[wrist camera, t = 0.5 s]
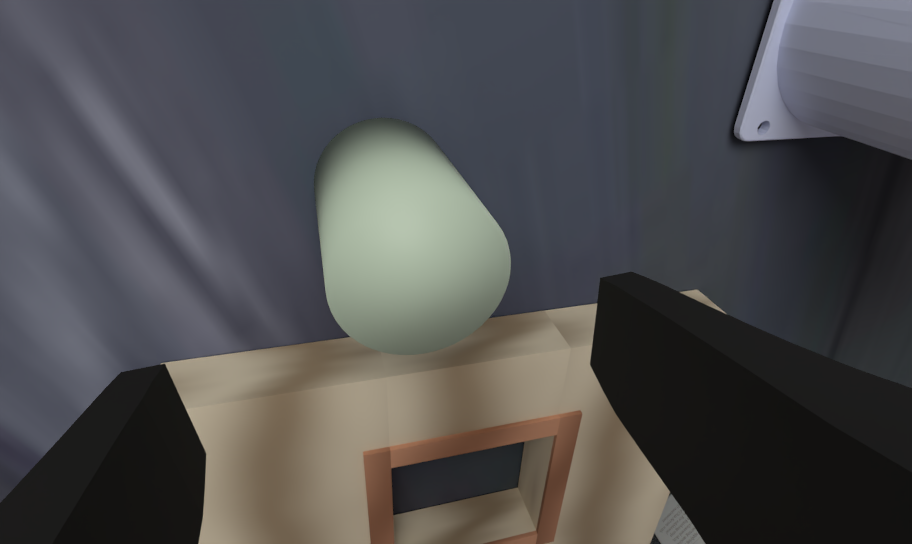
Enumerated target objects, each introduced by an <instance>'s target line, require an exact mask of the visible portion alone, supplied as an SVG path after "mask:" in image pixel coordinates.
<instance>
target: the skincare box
mask: <svg viewBox="0 0 912 544" xmlns="http://www.w3.org/2000/svg"><path fill="white" fill-rule="evenodd" d="M654 534H655V535H656V537H657V538H658V540H659V541H660V543H661V544H705V542H704V541H703V539H702V538H701V536H700V535H699V533H698V532H697V530H696V529H695V527H694V525H693V524H692V522H691V521H690V519H689V518H688V517H687V515H686V514H685V512H684V511H683V509H682V508H681V507H680V505H679V504H678V502H677V501H676V500H675V498H674V497H673V495H672V494H670V495H669V496H668V499H667V501H666V504H665V507H664V509H663V512H662V514H661V517H660V519H659V522H658V525H657V527H656V530H655V532H654Z"/></svg>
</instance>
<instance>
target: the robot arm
mask: <svg viewBox="0 0 912 544" xmlns="http://www.w3.org/2000/svg"><path fill="white" fill-rule="evenodd" d="M761 123H762V125H761V127H760V128H759V129H758V127H759V125H760V124H761ZM734 135H735V136H736V137H737V138H738V139H740V140H743V141H764V140H782V139H799V138H817V137H835V136H843V137H846V138H849V139H852V140H855V141H858V142H861V143H864V144H867V145H870V146H872V147H875V148H878V149H881V150H884V151H887V152H890V153H893V154H896V155H899V156H902V157H905V158H908V159H911V160H912V0H774V1H773V4H772V7H771V11H770V14H769V17H768V20H767V24H766V27H765V30H764V33H763V36H762V40H761V43H760V46H759V49H758V52H757V56H756V59H755V62H754V65H753V68H752V72H751V75H750V78H749V81H748V84H747V88H746V91H745V94H744V97H743V100H742V104H741V107H740V110H739V113H738V117H737V120H736V123H735V126H734ZM590 366H591V368H592V370H593V372H594V374H595V376H596V378H597V380H598V382H599V384H600V386H601V388H602V390H603V392H604V394H605V395H606V397H607V399H608V401H609V403H610V405H611V407H612V408H613V410H614V412H615V414H616V415H617V417H618V418H619V420H620V421H621V422H622V424H623V425H624V427H625V428H626V430H627V431H628V433H629V434H630V436H631V437H632V438H633V440H634V441H635V443H636V444H637V446H638V447H639V449H640V450H641V451H642V453H643V454H644V456H645V457H646V458H647V460H648V461H649V463H650V464H651V466H652V467H653V468H654V470H655V471H656V473H657V474H658V475H659V477H660V478H661V480H662V481H663V483H664V484H665V485H666V487H667V488H668V490H669V491H670V492H671V494H672V495H673V497H674V498H675V500H676V501H677V502H678V504H679V505H680V507H681V508H682V509H683V511H684V512H685V514H686V515H687V517H688V518H689V519H690V521H691V522H692V524H693V525H694V527H695V529H696V530H697V532H698V533H699V535H700V536H701V538H702V539H703V541H704V542H705V544H912V388H909V387H906V386H904V385H901V384H898V383H895V382H892V381H889V380H886V379H883V378H880V377H878V376H875V375H872V374H869V373H866V372H863V371H861V370H858V369H855V368H853V367H850V366H847V365H845V364H842V363H839V362H837V361H834V360H832V359H829V358H827V357H824V356H822V355H820V354H817V353H815V352H812V351H810V350H807V349H805V348H802V347H800V346H798V345H795V344H793V343H790V342H788V341H785V340H783V339H781V338H779V337H776V336H774V335H772V334H769V333H767V332H765V331H762V330H760V329H758V328H756V327H754V326H751V325H749V324H747V323H745V322H742V321H740V320H738V319H736V318H734V317H732V316H729V315H727V314H725V313H723V312H721V311H719V310H716V309H714V308H712V307H710V306H708V305H706V304H704V303H701V302H699V301H697V300H695V299H693V298H691V297H689V296H686V295H684V294H682V293H680V292H678V291H676V290H673V289H671V288H669V287H667V286H665V285H662V284H660V283H658V282H656V281H653V280H651V279H649V278H646V277H644V276H641V275H639V274H636V273H633V272H628V273H623V274H618V275H613V276H608V277H603V278H600V286H599V294H598V302H597V310H596V318H595V327H594V335H593V343H592V351H591V359H590ZM205 473H206V452H205V449H204V447H203V445H202V443H201V441H200V439H199V436H198V434H197V432H196V430H195V428H194V426H193V423H192V421H191V419H190V417H189V415H188V413H187V410H186V408H185V406H184V404H183V402H182V400H181V397H180V395H179V393H178V391H177V389H176V387H175V384H174V382H173V380H172V378H171V376H170V374H169V371H168V369H167V367H166V365H165V364H161V365H156V366H151V367H146V368H141V369H136V370H131V371H125V372H121V373H120V374H119V375H118V376H117V377H116V378H115V379H114V380H113V381H112V382H111V383H110V384H109V385H108V386H107V387H106V388H105V389H104V391H103V392H102V393H101V394H100V395H99V396H98V397H97V398H96V399H95V400H94V401H93V403H92V404H91V405H90V406H89V407H88V408H87V409H86V410H85V411H84V412H83V414H82V415H81V416H80V417H79V418H78V419H77V420H76V421H75V422H74V424H73V425H72V426H71V427H70V428H69V429H68V430H67V431H66V432H65V434H64V435H63V436H62V437H61V438H60V439H59V440H58V441H57V442H56V443H55V445H54V446H53V447H52V448H51V449H50V450H49V451H48V452H47V453H46V454H45V455H44V456H43V458H42V459H41V460H40V461H39V462H38V463H37V464H36V465H35V466H34V467H33V468H32V469H31V471H30V472H29V473H28V474H27V475H26V476H25V477H24V478H23V479H22V480H21V481H20V482H19V484H18V485H17V486H16V487H15V488H14V489H13V490H12V491H11V492H10V493H9V494H8V495H7V497H6V498H5V499H4V500H3V501H2V502H1V503H0V544H198V543H199V537H200V531H201V525H202V520H203V509H204V494H205Z"/></svg>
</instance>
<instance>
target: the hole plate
mask: <svg viewBox="0 0 912 544" xmlns="http://www.w3.org/2000/svg"><path fill="white" fill-rule="evenodd" d="M680 293H682V294H684V295H686V296H689V297H691V298H693V299H695V300H697V301H699V302H701V303H704V304H706V305H708V306H710V307H712V308H714V309H716V310H719V311H721V312H723V313H725V312H724V311H722V310H721V309H720V308H719V307H718V306H716V305H715V304H714V303H713V302H712V301H710V300H709V299H708V298H707V297H706V296H704V295H703V294H702V293H701V292H700V291H698V290H691V291H684V292H680ZM596 310H597V303H596V304H589V305H582V306H574V307H567V308H560V309H552V310H545V311H538V312H531V313H523V314H516V315H509V316H501V317H494V318H488V319H487V320H486V321H485V322H484V323H483V325H482V326H480V327H479V328H478V329H477V330H476V331H474V332H473V333H472V334H470V335H469V336H467V337H466V338H464V339H463V340H461V341H459V342H457V343H455V344H453V345H451V346H448V347H446V348H443V349H440V350H437V351H434V352H429V353H424V354H416V355H396V354H388V353H384V352H380V351H377V350H374V349H371V348H368V347H366V346H364V345H363V344H361V343H359V342H357V341H356V340H354V339H353V338H352V337H348V338H341V339H333V340H326V341H319V342H312V343H304V344H297V345H290V346H282V347H275V348H268V349H260V350H253V351H246V352H239V353H231V354H224V355H217V356H209V357H202V358H195V359H187V360H180V361H173V362H166V363H161V364H165V365H166V367H167V369H168V371H169V374H170V376H171V378H172V380H173V382H174V384H175V387H176V389H177V391H178V393H179V395H180V397H181V400H182V402H183V404H184V406H185V408H186V410H187V413H188V415H189V417H190V419H191V421H192V423H193V426H194V428H195V430H196V432H197V434H198V436H199V439H200V441H201V443H202V445H203V447H204V449H205V452H206V473H205V494H204V509H203V520H202V525H201V531H200V537H199V543H198V544H650V543H651V540H652V537H653V535H654V532H655V530H656V527H657V525H658V522H659V519H660V517H661V514H662V512H663V509H664V507H665V504H666V501H667V499H668V496H669V494H670V491H669V490H668V488H667V487H666V485H665V484H664V483H663V481H662V480H661V478H660V477H659V475H658V474H657V473H656V471H655V470H654V468H653V467H652V466H651V464H650V463H649V461H648V460H647V458H646V457H645V456H644V454H643V453H642V451H641V450H640V449H639V447H638V446H637V444H636V443H635V441H634V440H633V438H632V437H631V436H630V434H629V433H628V431H627V430H626V428H625V427H624V425H623V424H622V422H621V421H620V420H619V418H618V417H617V415H616V414H615V412H614V410H613V408H612V407H611V405H610V403H609V401H608V399H607V397H606V395H605V394H604V392H603V390H602V388H601V386H600V384H599V382H598V380H597V378H596V376H595V374H594V372H593V370H592V368H591V366H590V359H591V351H592V343H593V335H594V327H595V318H596ZM725 314H726V313H725ZM524 441H525V442H524ZM519 442H524V449H523V455H522V462H521V469H520V475H519V482H518V488H513V489H509V490H504V491H500V492H495V493H491V494H486V495H482V496H477V497H473V498H468V499H464V500H459V501H455V502H451V503H446V504H442V505H437V506H433V507H428V508H424V509H419V510H415V511H410V512H406V513H401V514H397V515H393V500H392V477H391V468H395V467H400V466H405V465H410V464H415V463H420V462H425V461H430V460H435V459H440V458H445V457H450V456H455V455H460V454H465V453H470V452H475V451H479V450H484V449H489V448H494V447H499V446H504V445H509V444H514V443H519Z"/></svg>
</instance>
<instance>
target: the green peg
mask: <svg viewBox="0 0 912 544" xmlns="http://www.w3.org/2000/svg"><path fill="white" fill-rule="evenodd" d="M314 192H315V201H316V210H317V219H318V228H319V237H320V246H321V255H322V263H323V272H324V281H325V290H326V296H327V301H328V305H329V307H330V310H331V313H332V314H333V316H334V318H335V320H336V322H337V323H338V324H339V325H340V327H341V328H342V329H343V330H344V331H345V332H346V333H347V334H348V335H349V336H350V337H352V338H353V339H354V340H356V341H357V342H359V343H361V344H363V345H364V346H366V347H368V348H371V349H374V350H377V351H380V352H384V353H388V354H396V355H416V354H424V353H429V352H434V351H437V350H440V349H443V348H446V347H448V346H451V345H453V344H455V343H457V342H459V341H461V340H463V339H464V338H466V337H467V336H469V335H470V334H472V333H473V332H474V331H476V330H477V329H478V328H479V327H480V326H482V325H483V323H484V322H485V321H486V320H487V319H488V318H489V317H490V316H491V315H492V313H493V312H494V311H495V310H496V308H497V306H498V305H499V303H500V302H501V300H502V298H503V295H504V293H505V291H506V288H507V285H508V282H509V277H510V270H511V258H510V250H509V247H508V243H507V240H506V238H505V236H504V233H503V231H502V230H501V228H500V227H499V225H498V224H497V222H496V221H495V220H494V218H493V217H492V216H491V214H490V213H489V212H488V210H487V209H486V208H485V207H484V205H483V204H482V203H481V201H480V200H479V199H478V197H477V196H476V195H475V193H474V192H473V191H472V189H471V188H470V187H469V186H468V184H467V183H466V182H465V180H464V179H463V178H462V176H461V175H460V174H459V172H458V171H457V170H456V168H455V167H454V166H453V165H452V163H451V162H450V161H449V159H448V158H447V157H446V155H445V154H444V153H443V151H442V150H441V149H440V148H439V146H438V145H437V144H436V142H435V141H434V140H433V139H432V138H431V137H430V136H429V135H428V134H427V133H426V132H424V131H423V130H422V129H420V128H418V127H417V126H415V125H413V124H411V123H409V122H406V121H402V120H399V119H393V118H374V119H368V120H364V121H361V122H358V123H356V124H353V125H351V126H349V127H348V128H346V129H344V130H343V131H341V132H340V133H339V134H337V135H336V136H335V137H334V138H333V139H332V140H331V141H330V142H329V144H328V145H327V146H326V148H325V149H324V151H323V152H322V154H321V156H320V158H319V161H318V163H317V166H316V170H315V176H314Z"/></svg>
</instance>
